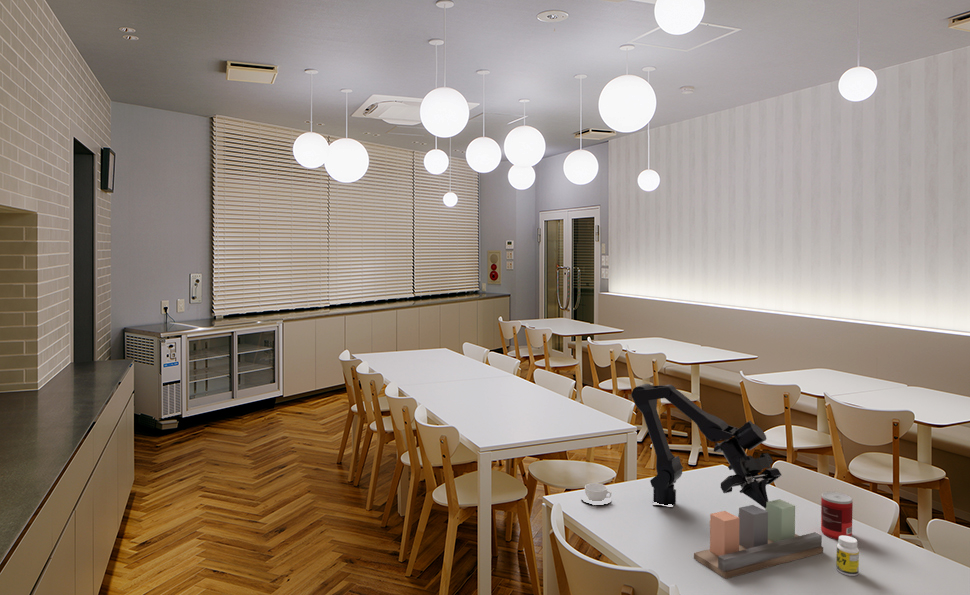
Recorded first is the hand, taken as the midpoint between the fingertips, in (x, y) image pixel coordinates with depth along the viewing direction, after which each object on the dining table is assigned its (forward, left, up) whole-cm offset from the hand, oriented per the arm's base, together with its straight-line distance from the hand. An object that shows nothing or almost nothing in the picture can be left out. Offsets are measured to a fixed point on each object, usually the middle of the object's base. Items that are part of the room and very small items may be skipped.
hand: (767, 508), depth 163 cm
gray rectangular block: (-4, -10, -7) cm, 13 cm away
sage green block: (+3, -3, -7) cm, 8 cm away
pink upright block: (-11, -17, -7) cm, 22 cm away
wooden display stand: (-3, -12, -9) cm, 15 cm away
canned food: (+18, +10, -9) cm, 23 cm away
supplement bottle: (+17, -13, -9) cm, 23 cm away
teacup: (-51, +10, -9) cm, 53 cm away
